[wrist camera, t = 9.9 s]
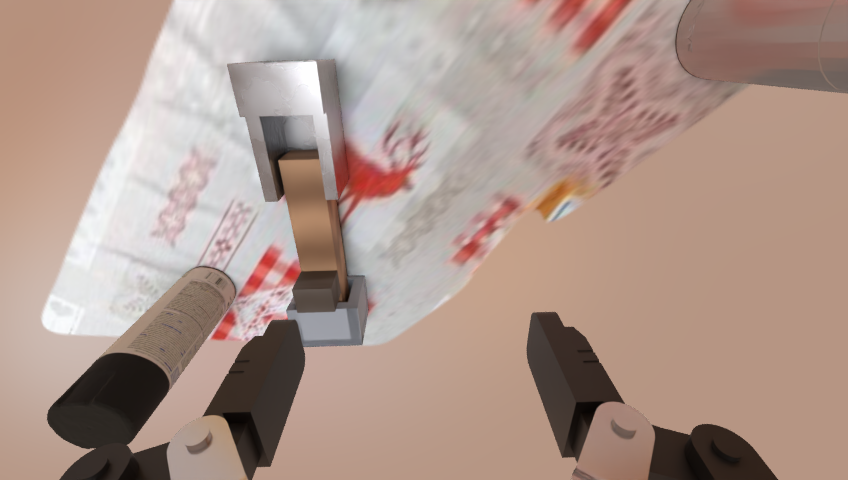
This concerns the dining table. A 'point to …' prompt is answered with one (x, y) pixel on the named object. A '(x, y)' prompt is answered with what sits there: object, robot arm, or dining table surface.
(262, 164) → the channel
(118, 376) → the spray can
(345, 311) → the socket
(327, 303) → the walnut bar
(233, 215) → the dining table surface
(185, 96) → the dining table surface
